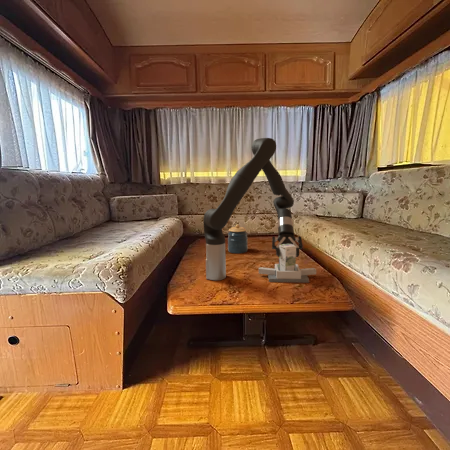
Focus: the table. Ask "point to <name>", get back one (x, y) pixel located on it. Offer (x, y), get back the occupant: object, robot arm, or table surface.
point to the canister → (237, 240)
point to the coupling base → (288, 274)
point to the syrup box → (287, 257)
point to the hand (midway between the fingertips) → (287, 256)
